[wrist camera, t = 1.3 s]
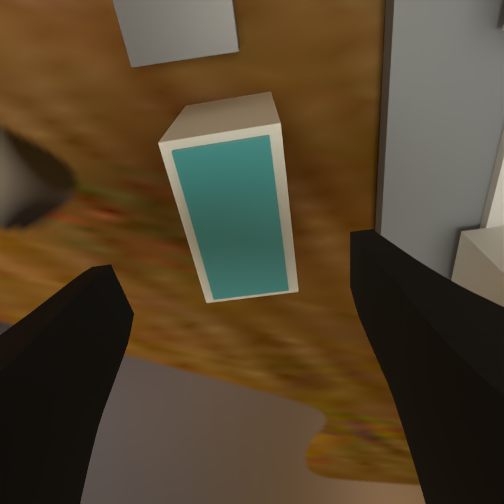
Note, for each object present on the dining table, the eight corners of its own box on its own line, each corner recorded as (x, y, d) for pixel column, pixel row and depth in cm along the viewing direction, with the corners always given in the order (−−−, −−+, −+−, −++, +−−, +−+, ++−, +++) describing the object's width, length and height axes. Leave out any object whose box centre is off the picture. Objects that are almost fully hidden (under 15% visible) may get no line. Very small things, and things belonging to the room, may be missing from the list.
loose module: (285, 223, 20) (299, 294, 15) (217, 232, 20) (206, 306, 15) (270, 91, 16) (280, 124, 11) (185, 105, 16) (156, 144, 11)
